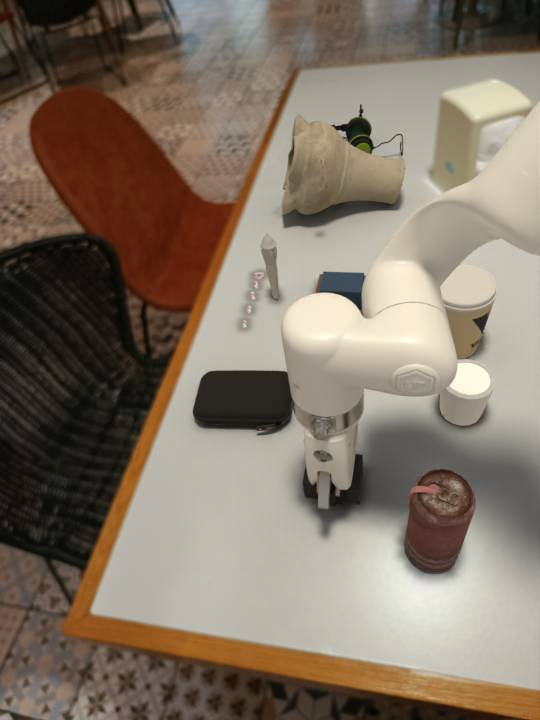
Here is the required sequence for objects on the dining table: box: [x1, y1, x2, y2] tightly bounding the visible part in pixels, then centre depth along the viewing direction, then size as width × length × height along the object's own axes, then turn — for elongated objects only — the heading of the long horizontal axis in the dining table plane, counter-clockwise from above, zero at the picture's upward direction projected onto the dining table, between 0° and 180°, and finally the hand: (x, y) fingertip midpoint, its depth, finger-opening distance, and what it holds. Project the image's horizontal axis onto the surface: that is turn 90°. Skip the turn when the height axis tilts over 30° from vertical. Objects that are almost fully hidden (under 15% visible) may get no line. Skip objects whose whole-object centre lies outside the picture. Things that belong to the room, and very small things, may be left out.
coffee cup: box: [440, 263, 499, 360], centre depth 78 cm, size 9×9×12 cm
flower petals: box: [242, 271, 265, 329], centre depth 95 cm, size 15×2×1 cm, turn 169°
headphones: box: [330, 103, 404, 157], centre depth 121 cm, size 16×10×20 cm
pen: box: [259, 233, 280, 301], centre depth 89 cm, size 2×3×14 cm
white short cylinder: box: [439, 358, 497, 427], centre depth 71 cm, size 7×7×7 cm
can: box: [404, 468, 477, 574], centre depth 57 cm, size 6×6×14 cm
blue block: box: [319, 271, 365, 310], centre depth 90 cm, size 7×5×4 cm
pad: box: [302, 453, 364, 506], centre depth 67 cm, size 7×5×4 cm
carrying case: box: [192, 369, 293, 432], centre depth 78 cm, size 11×3×15 cm
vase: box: [281, 112, 406, 216], centre depth 104 cm, size 22×22×28 cm
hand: (334, 481), depth 68 cm, fingers closed on pad, 5 cm apart
